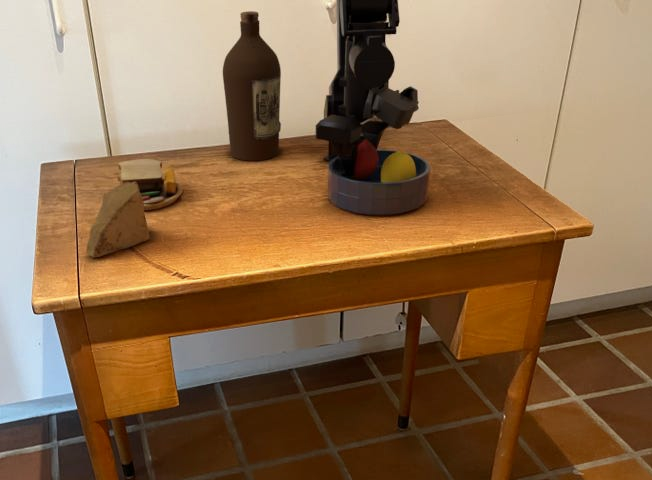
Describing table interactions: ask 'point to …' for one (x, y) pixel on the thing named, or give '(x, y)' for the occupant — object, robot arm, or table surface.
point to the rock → (118, 221)
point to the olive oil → (252, 94)
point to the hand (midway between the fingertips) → (359, 169)
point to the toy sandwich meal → (150, 182)
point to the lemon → (398, 168)
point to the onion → (365, 161)
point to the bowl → (378, 188)
